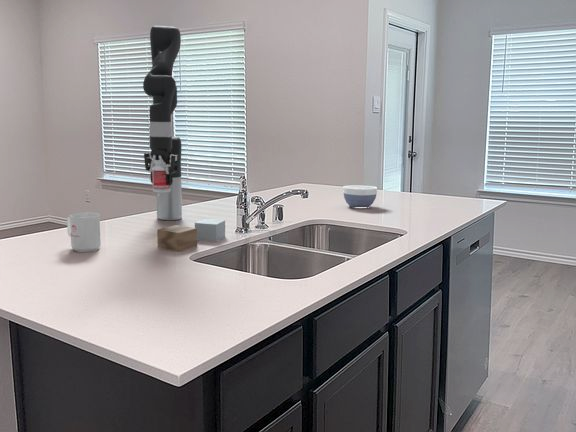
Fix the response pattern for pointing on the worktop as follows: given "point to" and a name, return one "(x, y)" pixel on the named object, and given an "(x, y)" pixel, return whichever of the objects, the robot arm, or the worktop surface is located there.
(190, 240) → the walnut block
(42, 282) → the worktop surface
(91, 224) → the mug
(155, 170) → the pill bottle
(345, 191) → the bowl
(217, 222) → the grey block
